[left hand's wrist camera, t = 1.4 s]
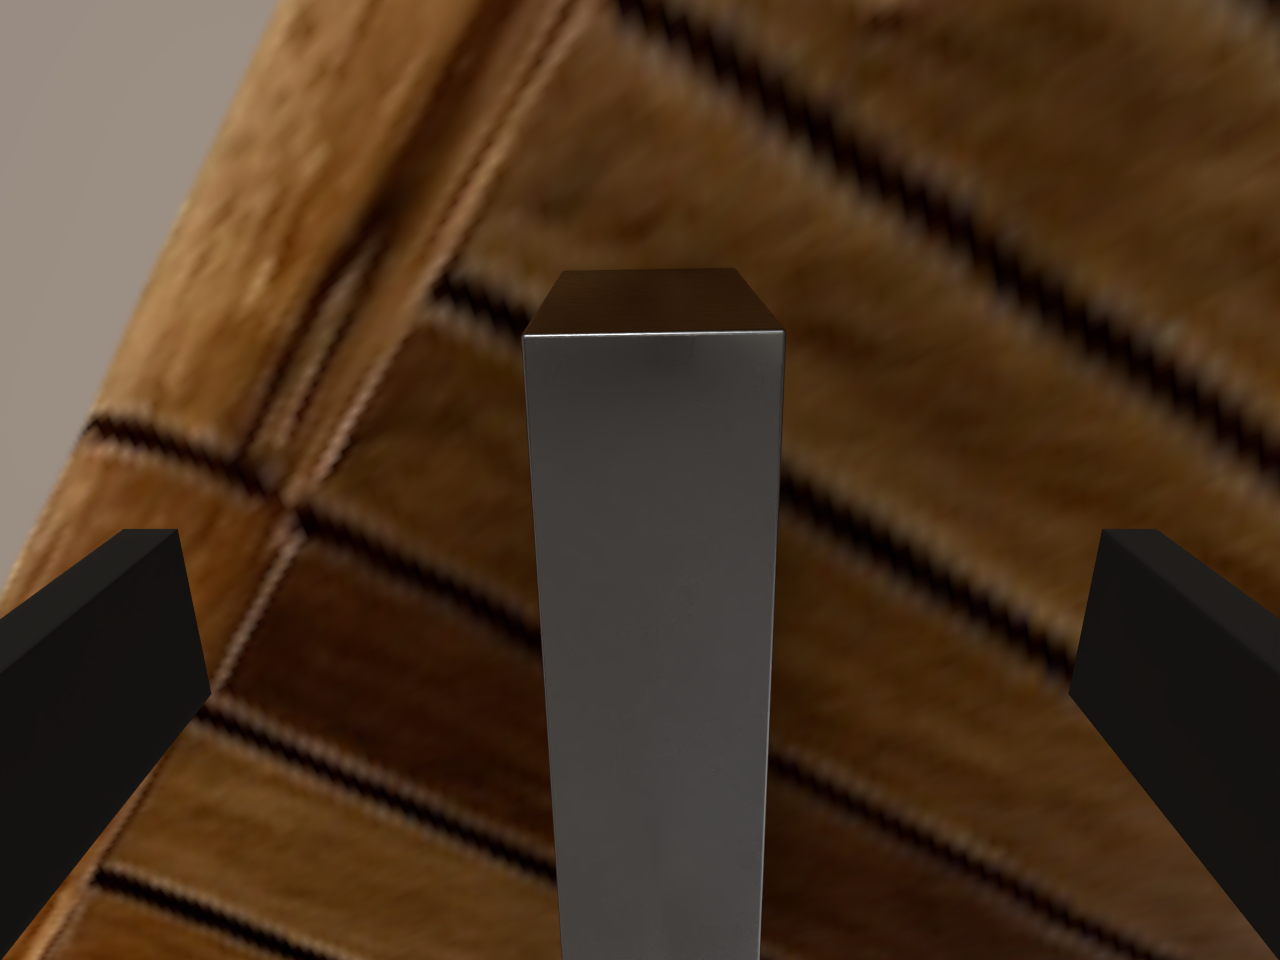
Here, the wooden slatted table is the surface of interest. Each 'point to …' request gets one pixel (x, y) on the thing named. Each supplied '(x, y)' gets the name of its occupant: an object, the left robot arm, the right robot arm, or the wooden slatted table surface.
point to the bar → (656, 602)
